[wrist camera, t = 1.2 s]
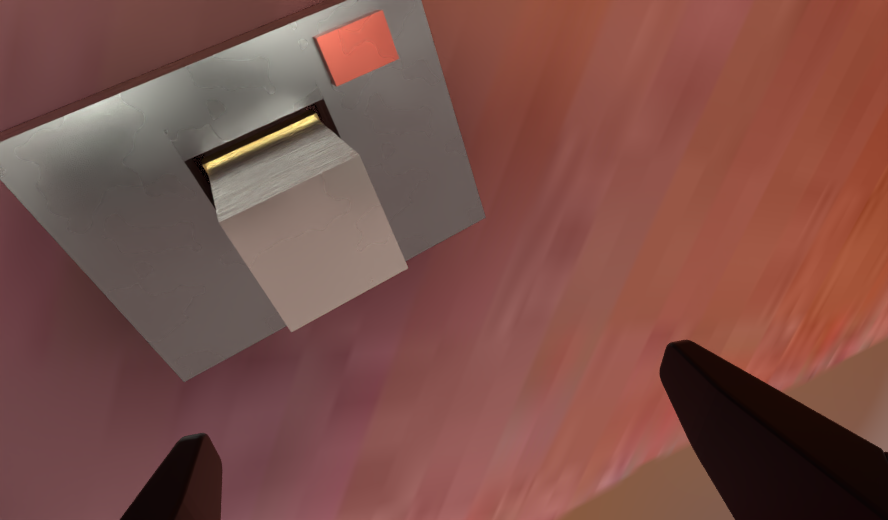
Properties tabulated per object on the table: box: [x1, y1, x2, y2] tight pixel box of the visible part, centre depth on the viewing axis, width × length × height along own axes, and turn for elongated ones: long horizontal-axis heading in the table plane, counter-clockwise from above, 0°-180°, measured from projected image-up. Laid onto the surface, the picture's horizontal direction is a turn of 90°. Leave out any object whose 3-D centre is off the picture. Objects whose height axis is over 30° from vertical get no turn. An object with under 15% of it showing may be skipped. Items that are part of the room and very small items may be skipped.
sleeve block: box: [0, 0, 486, 382], centre depth 19 cm, size 14×10×3 cm
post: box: [201, 108, 408, 332], centre depth 17 cm, size 4×4×7 cm
